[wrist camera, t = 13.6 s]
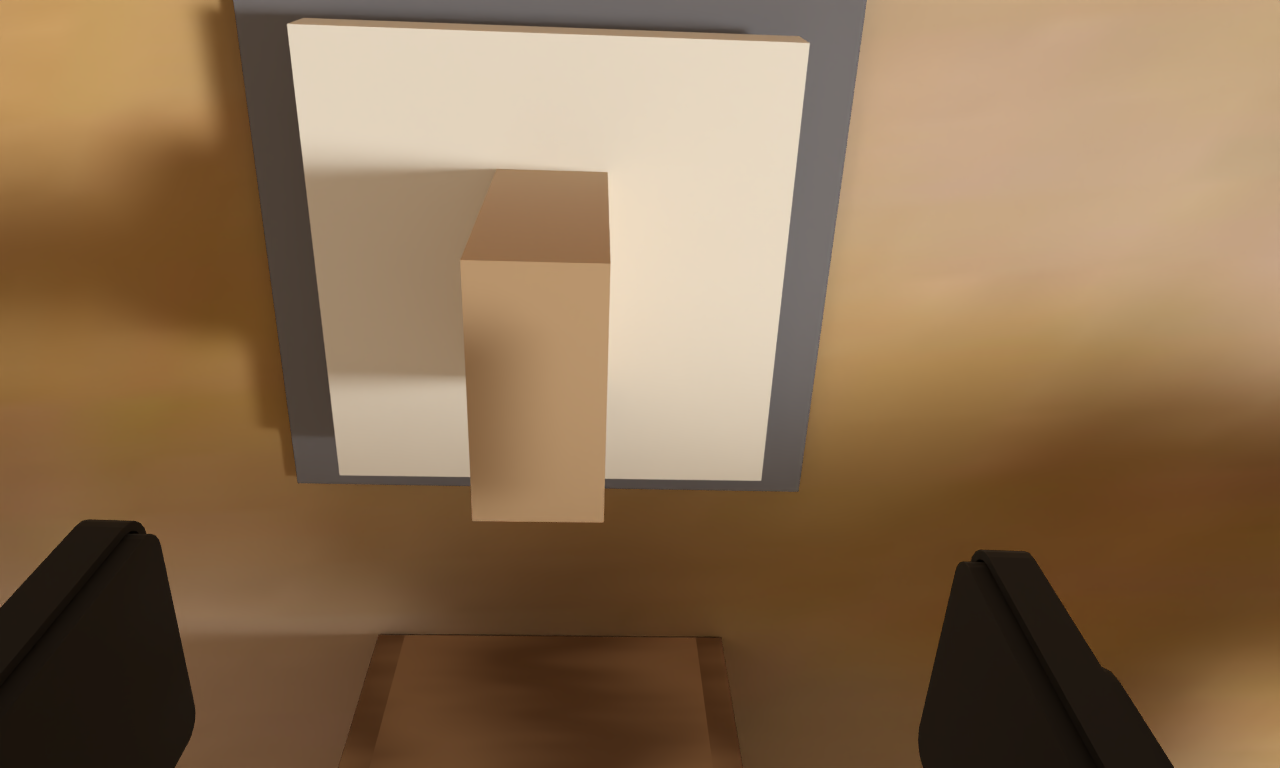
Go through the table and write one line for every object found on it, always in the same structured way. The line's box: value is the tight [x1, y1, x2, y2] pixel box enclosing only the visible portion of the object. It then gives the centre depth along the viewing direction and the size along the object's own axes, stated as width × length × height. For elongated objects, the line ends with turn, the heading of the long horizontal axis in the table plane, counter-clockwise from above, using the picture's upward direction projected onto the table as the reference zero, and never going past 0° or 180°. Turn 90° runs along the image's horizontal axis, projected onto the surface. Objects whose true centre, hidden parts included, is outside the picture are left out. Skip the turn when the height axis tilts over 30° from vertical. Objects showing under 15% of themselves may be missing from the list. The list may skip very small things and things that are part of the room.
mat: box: [233, 0, 867, 492], centre depth 24 cm, size 14×14×1 cm
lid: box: [287, 18, 810, 523], centre depth 20 cm, size 11×11×8 cm
